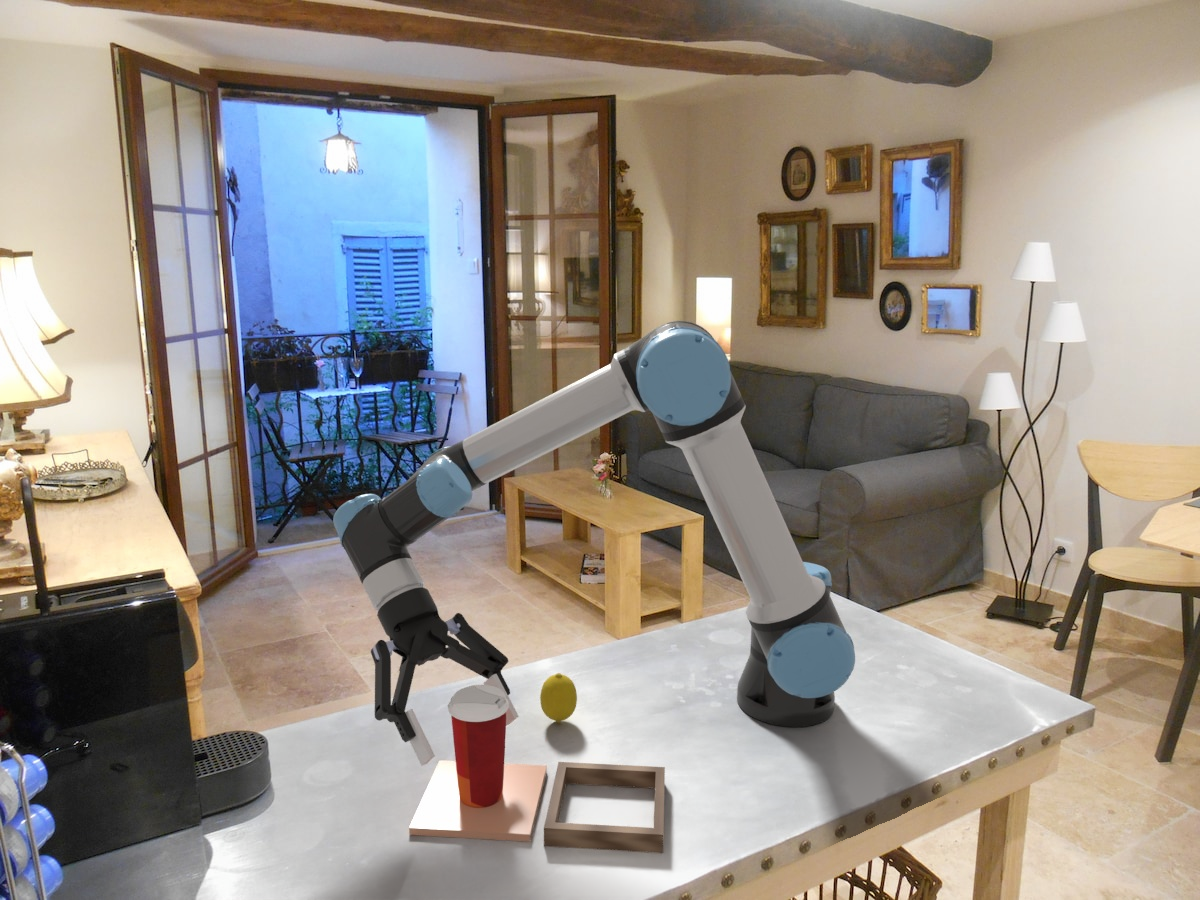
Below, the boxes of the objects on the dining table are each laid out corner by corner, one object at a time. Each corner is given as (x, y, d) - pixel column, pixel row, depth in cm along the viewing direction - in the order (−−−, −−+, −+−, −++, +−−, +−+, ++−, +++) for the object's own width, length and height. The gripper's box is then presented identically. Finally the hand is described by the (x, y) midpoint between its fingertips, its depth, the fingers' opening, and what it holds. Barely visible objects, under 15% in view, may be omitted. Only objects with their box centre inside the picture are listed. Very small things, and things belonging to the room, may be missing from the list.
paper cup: (520, 784, 122) (518, 688, 119) (495, 818, 115) (492, 716, 112) (467, 773, 125) (464, 678, 122) (439, 805, 118) (435, 705, 115)
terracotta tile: (546, 772, 127) (546, 765, 127) (530, 841, 113) (529, 834, 112) (439, 766, 128) (439, 760, 128) (409, 834, 114) (409, 827, 114)
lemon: (572, 733, 137) (572, 684, 135) (536, 729, 138) (535, 680, 136) (580, 714, 142) (580, 667, 141) (545, 711, 144) (545, 663, 142)
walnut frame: (664, 783, 125) (664, 767, 124) (663, 853, 111) (663, 834, 110) (558, 778, 126) (558, 761, 125) (543, 846, 112) (543, 828, 111)
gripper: (462, 588, 137) (530, 716, 130) (308, 639, 120) (377, 790, 113) (484, 563, 132) (556, 695, 126) (327, 612, 115) (400, 768, 108)
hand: (472, 740), depth 119 cm, fingers open, 13 cm apart
